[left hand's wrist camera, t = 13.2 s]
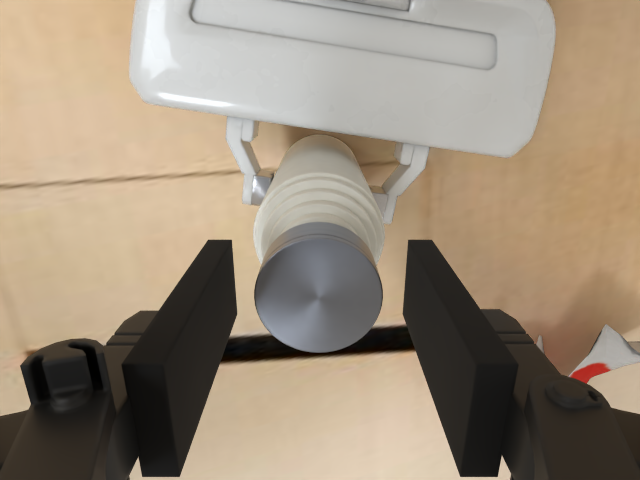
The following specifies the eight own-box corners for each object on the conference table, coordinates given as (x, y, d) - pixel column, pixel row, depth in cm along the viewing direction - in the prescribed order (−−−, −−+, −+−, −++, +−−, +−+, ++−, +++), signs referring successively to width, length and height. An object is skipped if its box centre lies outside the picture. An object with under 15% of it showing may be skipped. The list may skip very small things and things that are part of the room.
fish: (456, 301, 28) (580, 446, 22) (609, 261, 34) (742, 363, 28) (410, 392, 35) (494, 525, 28) (546, 344, 41) (640, 443, 34)
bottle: (341, 121, 29) (371, 177, 12) (370, 195, 31) (430, 334, 14) (266, 153, 30) (197, 247, 13) (298, 223, 31) (274, 387, 15)
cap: (351, 202, 14) (355, 218, 12) (392, 303, 15) (400, 328, 13) (241, 246, 14) (232, 266, 13) (289, 340, 15) (285, 368, 14)
